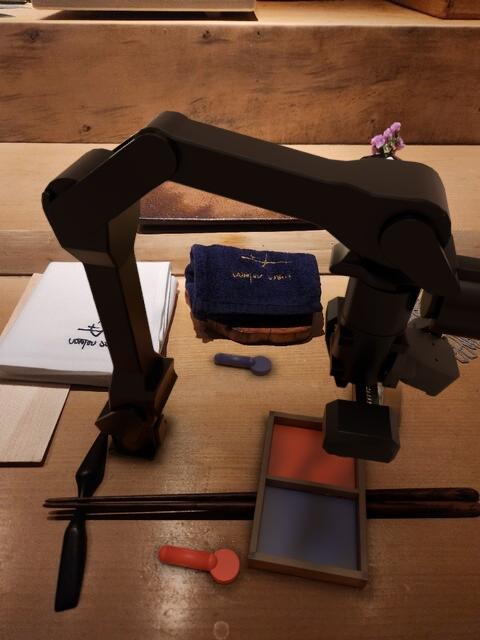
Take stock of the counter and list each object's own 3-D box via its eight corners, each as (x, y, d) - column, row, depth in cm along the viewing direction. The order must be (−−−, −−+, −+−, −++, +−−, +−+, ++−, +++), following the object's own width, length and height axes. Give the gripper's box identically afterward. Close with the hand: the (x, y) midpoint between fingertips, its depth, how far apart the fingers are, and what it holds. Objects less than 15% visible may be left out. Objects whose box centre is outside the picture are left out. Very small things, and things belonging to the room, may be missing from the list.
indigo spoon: (212, 368, 74) (211, 361, 72) (216, 353, 76) (216, 346, 75) (269, 377, 73) (270, 369, 71) (272, 361, 75) (272, 353, 74)
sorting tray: (247, 567, 52) (247, 558, 50) (268, 421, 66) (269, 410, 65) (363, 588, 50) (368, 580, 49) (359, 434, 65) (362, 424, 63)
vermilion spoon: (154, 571, 51) (153, 565, 50) (163, 540, 54) (162, 533, 53) (236, 586, 50) (237, 581, 49) (241, 554, 53) (242, 548, 52)
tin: (394, 443, 64) (410, 407, 58) (371, 439, 65) (385, 402, 59) (390, 364, 75) (403, 327, 69) (370, 361, 75) (382, 324, 70)
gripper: (497, 415, 33) (428, 513, 43) (450, 263, 46) (406, 366, 57) (339, 392, 33) (309, 494, 44) (338, 250, 47) (315, 354, 58)
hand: (341, 418), depth 51 cm, fingers open, 9 cm apart
